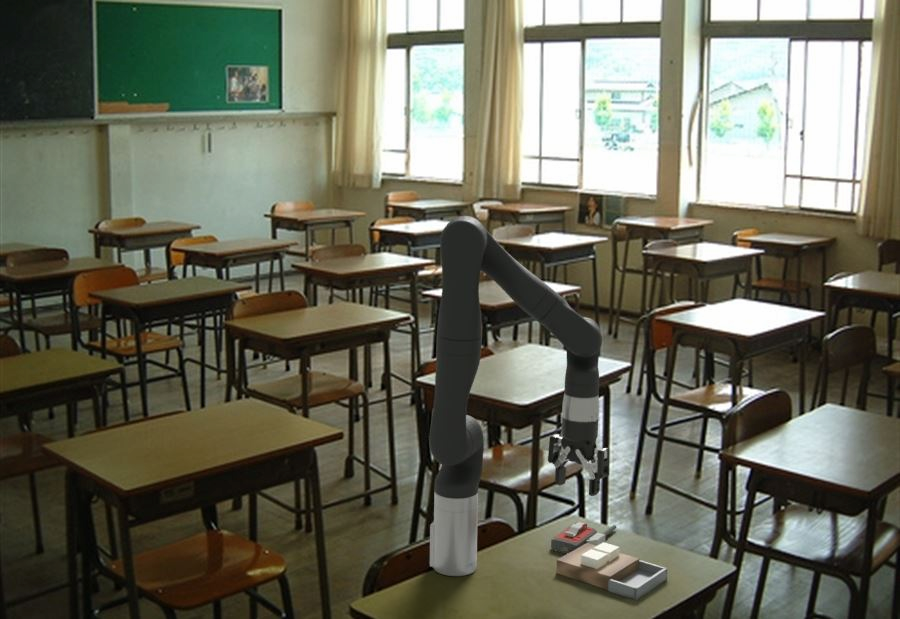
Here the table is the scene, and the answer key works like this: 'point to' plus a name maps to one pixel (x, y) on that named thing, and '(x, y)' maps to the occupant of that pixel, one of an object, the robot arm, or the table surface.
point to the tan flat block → (600, 576)
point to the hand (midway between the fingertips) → (576, 489)
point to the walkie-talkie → (578, 537)
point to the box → (639, 581)
